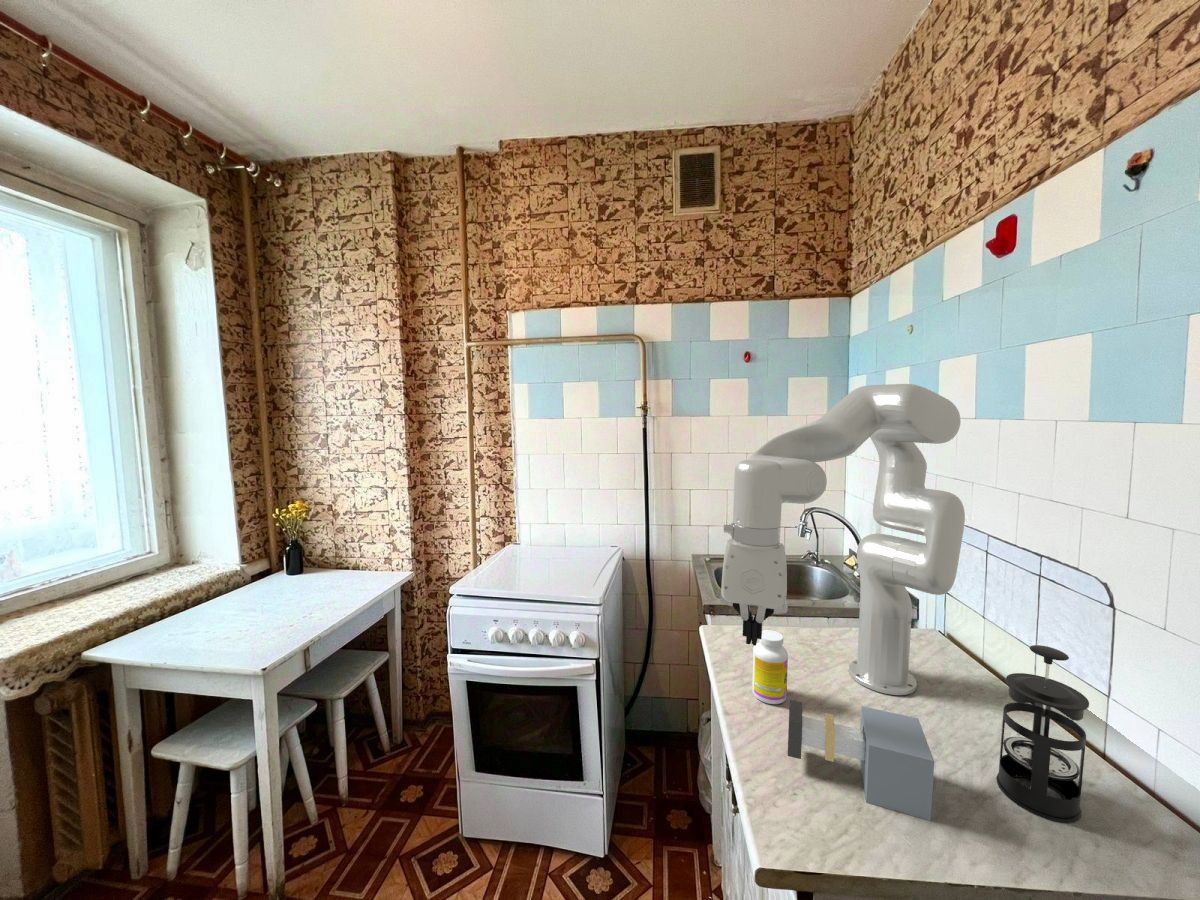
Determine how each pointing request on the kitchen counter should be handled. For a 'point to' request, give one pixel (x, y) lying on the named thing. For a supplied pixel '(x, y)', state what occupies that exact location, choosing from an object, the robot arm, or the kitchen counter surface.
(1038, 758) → the french press
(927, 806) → the housing
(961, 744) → the kitchen counter surface
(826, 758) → the shaft
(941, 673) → the kitchen counter surface
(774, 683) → the supplement bottle
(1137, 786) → the kitchen counter surface
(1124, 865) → the kitchen counter surface
